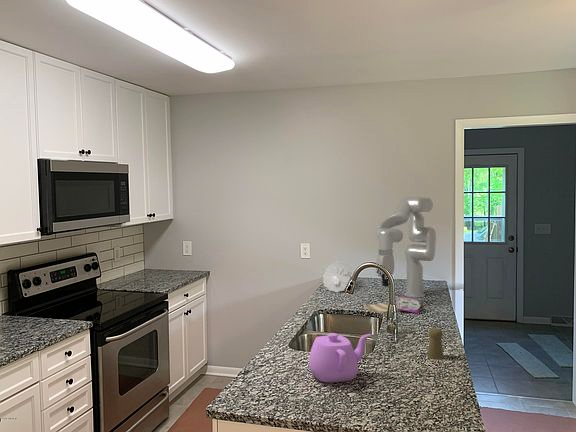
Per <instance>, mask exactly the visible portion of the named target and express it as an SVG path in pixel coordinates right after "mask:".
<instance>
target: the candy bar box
mask: <svg viewBox="0 0 576 432" xmlns="http://www.w3.org/2000/svg"><path fill="white" fill-rule="evenodd" d="M395 303H396V306H397V307H398V310H401V311H405V312H408V313H409V312H410V313H413V314H419V313H420V310H421V303H420V301H419V300H418V298H413V297H408V296H405V295H404V294H398V293H397V297H396V302H395Z"/></svg>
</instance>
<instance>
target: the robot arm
mask: <svg viewBox="0 0 576 432" xmlns="http://www.w3.org/2000/svg"><path fill="white" fill-rule="evenodd" d="M433 203H434V202H433V200H432V199H431V198H430V197H421V196H405V197H403V198H401V199H400V201H399V203H398V204H397V207H396V209H395V211H394V213H393V214H391V215H390V216H388V217H386V218H385V219H384V220H383V221H382V222H381V223H380V224H379V226H378V229H377V230H376V238H377V240H378V254H377V257H376V264H379V265H382V266H383V267H385V268H386V269H387V270H389V272H390V273H391V274H392V275H394V272H395V258H394V249H393V248H394V245H393V243H399V242H401V241H402V240H403V237H404V233H403V231H402V230H400V229H399V228H394V227H398V226H401V225H403V224H406V223H407V222H408V221H409V225H408V227H409V229H408V239H409V241H411V242H414V243H410V244H408V245H407V246H406V247H405V249H404V253H405V254H404V255H405V259H406V291H405V292H403V296H408V297H413V298H417V299H418V298H424V297H425V296H426V293H424V292H427V291H428V288H427V287H423V286H424V284H423V283H424V281H423V280H424V279H423V278H424V276H423V275H424V273H423V272H424V271H423V270H424V269H423V263H422V262H421V261H424V262H425V261H426V262H432V261H433V260H434V259H435V256H436V245H437V244H436V242H437V234H436V230H435V229H434V228H433V227H432V226H431V227H430V226H425V218H424V215H423V214H422V213H430V212H431V211H432V209H433V207H434V204H433ZM417 243H419V244H417ZM420 243H425V244H420ZM376 264H375V265H376ZM375 273H376V274H377V277H381V279H382V283H381V284H382V287H386V288H387V287H389V285H390V282H389V283H388V279H387V277H386V275H385V274H384V273H383V272H382V271H381V270H379V269H377V268H376V267H375Z"/></svg>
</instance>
